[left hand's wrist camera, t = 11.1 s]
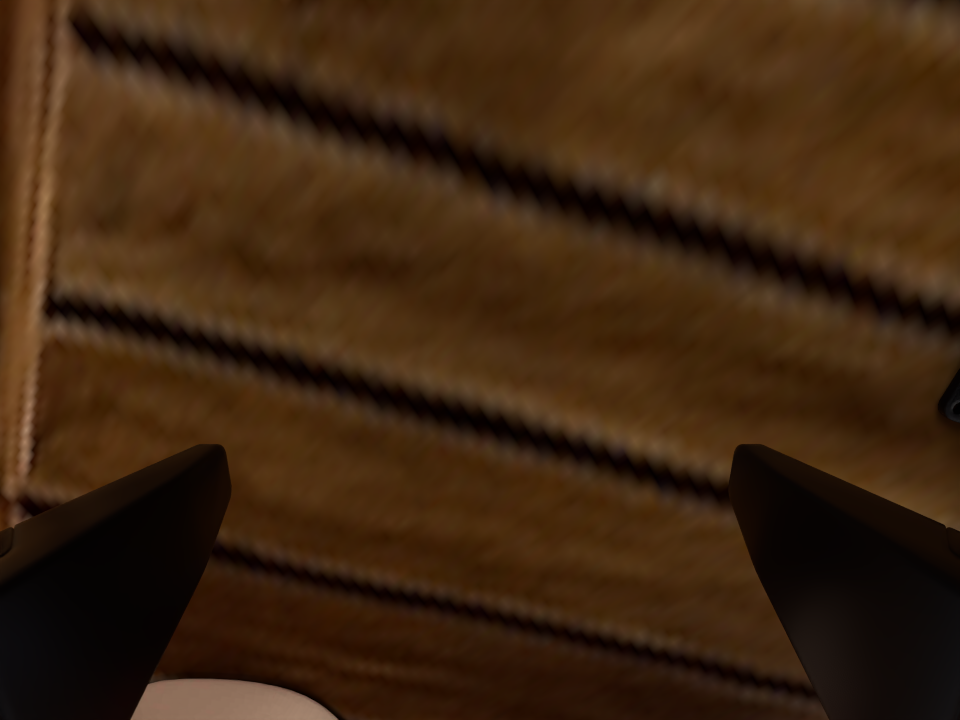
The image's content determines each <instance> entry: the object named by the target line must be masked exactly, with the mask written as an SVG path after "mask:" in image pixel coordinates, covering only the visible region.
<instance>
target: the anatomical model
mask: <svg viewBox="0 0 960 720" xmlns="http://www.w3.org/2000/svg"><path fill="white" fill-rule="evenodd" d="M131 720H338V719H337V718H336V717H335V716H334V715H333V714H332V713H330V712H329V711H328V710H327V709H326V708H325V707H323V706H322V705H320V704H319V703H317V702H315V701H314V700H312V699H310V698H308V697H306V696H304V695H302V694H299V693H297V692H294V691H292V690H288V689H285V688H281V687H278V686H273V685H267V684H262V683H257V682H248V681H240V680H225V679H177V680H163V681H159V682H154V683H151V684H148V686H147V688H146V690H145V692H144V694H143V696H142V698H141V700H140V702H139V704H138V706H137V708H136V710H135V712H134V714H133V716H132V718H131Z"/></svg>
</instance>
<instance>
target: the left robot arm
mask: <svg viewBox="0 0 960 720" xmlns="http://www.w3.org/2000/svg"><path fill="white" fill-rule="evenodd" d="M959 402H960V369H959V370H958V372H957V374H956V375H955V377H954V378H953V380H952V382H951V383H950V385H949V386H948V388H947V390H946V391H945V393H944V394H943V396H942V397H941V399H940V401H939V404H938V410H939V411H940V413H941V414H943V415H944V416H946V417H947V418H949V419H951V420H952V421H956V422H959V423H960V404H959V406H958V407H957V408H955V409H953V407H954V406H955V405H956V404H957V403H959ZM230 497H231V480H230V474H229V468H228V462H227V456H226V451H225V449H224V447H223V446H222V445H219V444H199V445H196V446H193V447H191V448H189V449H187V450H184V451H182V452H180V453H178V454H175V455H173V456H171V457H169V458H166V459H164V460H162V461H159V462H157V463H155V464H153V465H150V466H148V467H146V468H144V469H141V470H139V471H137V472H134V473H132V474H130V475H128V476H125V477H123V478H121V479H119V480H116V481H114V482H112V483H110V484H107V485H105V486H103V487H100V488H98V489H96V490H94V491H91V492H89V493H87V494H85V495H82V496H80V497H78V498H76V499H73V500H71V501H69V502H66V503H64V504H62V505H60V506H57V507H55V508H53V509H51V510H48V511H46V512H44V513H41V514H39V515H37V516H35V517H32V518H30V519H28V520H26V521H23V522H21V523H19V524H17V525H15V527H14V528H12V527H10V528H7V529H5V530H3V531H0V720H131V718H132V716H133V714H134V712H135V710H136V708H137V706H138V704H139V702H140V700H141V698H142V696H143V694H144V692H145V690H146V688H147V686H148V684H149V682H150V680H151V678H152V676H153V674H154V672H155V670H156V668H157V666H158V664H159V662H160V660H161V658H162V656H163V654H164V651H165V649H166V647H167V645H168V643H169V641H170V639H171V637H172V635H173V633H174V631H175V629H176V627H177V625H178V623H179V621H180V619H181V617H182V615H183V613H184V611H185V609H186V607H187V605H188V603H189V601H190V599H191V597H192V595H193V593H194V591H195V589H196V587H197V585H198V583H199V581H200V579H201V577H202V574H203V572H204V570H205V567H206V565H207V562H208V560H209V557H210V554H211V551H212V549H213V546H214V543H215V540H216V537H217V535H218V532H219V529H220V526H221V523H222V520H223V518H224V515H225V512H226V509H227V506H228V503H229V501H230ZM729 497H730V501H731V503H732V506H733V509H734V512H735V515H736V518H737V520H738V523H739V526H740V529H741V532H742V535H743V537H744V540H745V543H746V546H747V549H748V551H749V554H750V557H751V560H752V562H753V565H754V567H755V570H756V572H757V574H758V577H759V579H760V581H761V583H762V585H763V587H764V589H765V591H766V593H767V595H768V597H769V599H770V601H771V603H772V605H773V607H774V609H775V611H776V613H777V615H778V617H779V619H780V621H781V623H782V625H783V627H784V629H785V631H786V633H787V635H788V637H789V639H790V641H791V643H792V645H793V647H794V649H795V652H796V654H797V656H798V658H799V660H800V662H801V664H802V666H803V668H804V670H805V672H806V674H807V676H808V678H809V680H810V682H811V684H812V686H813V688H814V690H815V692H816V694H817V696H818V698H819V700H820V702H821V704H822V706H823V708H824V710H825V712H826V714H827V716H828V718H829V720H960V531H957V530H955V529H953V528H950V527H948V528H946V527H945V525H943V524H941V523H939V522H937V521H934V520H932V519H930V518H928V517H925V516H923V515H921V514H919V513H916V512H914V511H912V510H909V509H907V508H905V507H903V506H900V505H898V504H896V503H894V502H891V501H889V500H887V499H884V498H882V497H880V496H878V495H875V494H873V493H871V492H869V491H866V490H864V489H862V488H860V487H857V486H855V485H853V484H850V483H848V482H846V481H844V480H841V479H839V478H837V477H835V476H832V475H830V474H828V473H825V472H823V471H821V470H819V469H816V468H814V467H812V466H810V465H807V464H805V463H803V462H801V461H798V460H796V459H794V458H791V457H789V456H787V455H785V454H782V453H780V452H778V451H776V450H773V449H771V448H769V447H767V446H764V445H761V444H741V445H738V446H737V447H736V449H735V451H734V456H733V462H732V468H731V474H730V480H729Z"/></svg>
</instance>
